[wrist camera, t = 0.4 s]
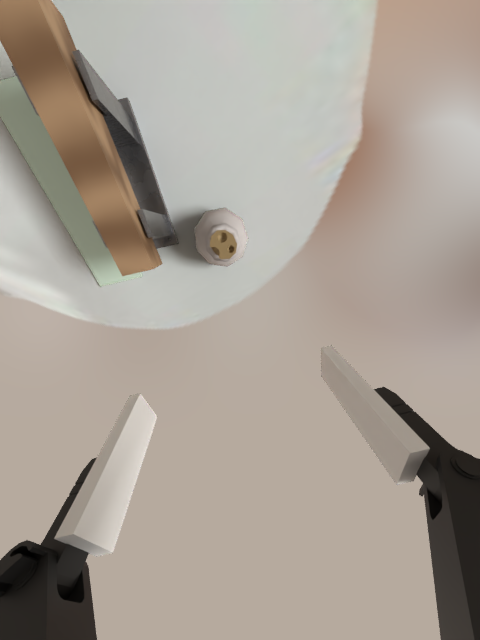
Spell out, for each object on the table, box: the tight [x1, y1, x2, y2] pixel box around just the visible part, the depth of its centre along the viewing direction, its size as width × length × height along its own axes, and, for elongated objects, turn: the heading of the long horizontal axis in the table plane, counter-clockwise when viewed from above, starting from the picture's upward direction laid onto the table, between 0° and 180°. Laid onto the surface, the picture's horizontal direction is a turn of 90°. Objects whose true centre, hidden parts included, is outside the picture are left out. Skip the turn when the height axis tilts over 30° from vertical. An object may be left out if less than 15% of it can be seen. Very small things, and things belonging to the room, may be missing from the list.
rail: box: [0, 0, 162, 276], centre depth 19 cm, size 22×4×4 cm, turn 12°
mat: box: [0, 76, 143, 287], centre depth 28 cm, size 26×8×1 cm, turn 12°
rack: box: [12, 50, 178, 249], centre depth 24 cm, size 18×7×10 cm, turn 12°
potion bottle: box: [194, 208, 249, 266], centre depth 25 cm, size 9×9×18 cm
